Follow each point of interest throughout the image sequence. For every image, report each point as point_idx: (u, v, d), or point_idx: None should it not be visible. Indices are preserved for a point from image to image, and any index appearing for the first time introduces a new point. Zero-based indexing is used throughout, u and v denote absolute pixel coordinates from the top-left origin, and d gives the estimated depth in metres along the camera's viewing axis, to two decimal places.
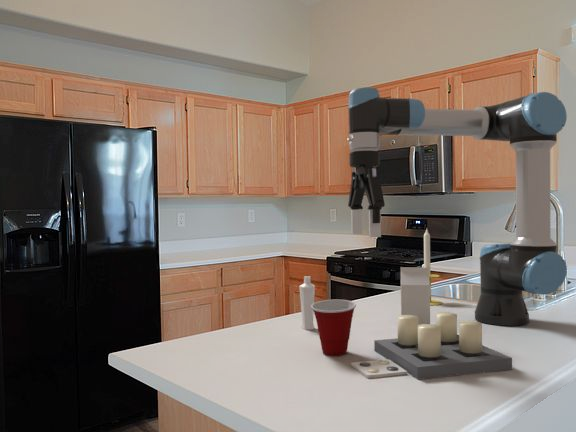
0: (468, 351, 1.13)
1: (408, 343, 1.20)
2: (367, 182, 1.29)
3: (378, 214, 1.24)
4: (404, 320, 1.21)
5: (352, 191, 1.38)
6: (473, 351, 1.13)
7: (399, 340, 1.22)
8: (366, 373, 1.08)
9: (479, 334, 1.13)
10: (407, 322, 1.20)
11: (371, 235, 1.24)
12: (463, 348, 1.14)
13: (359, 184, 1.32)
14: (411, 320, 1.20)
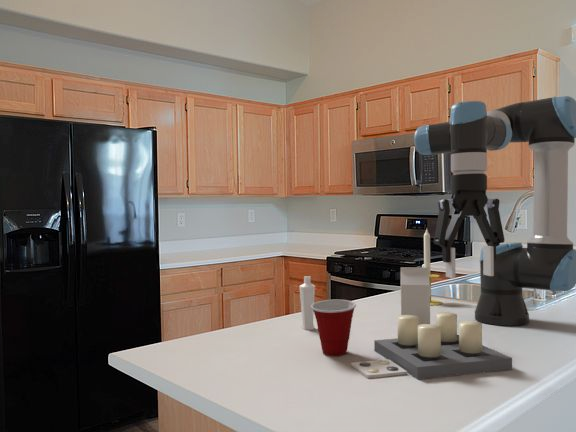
0: (468, 351, 1.13)
1: (408, 343, 1.20)
2: (458, 211, 1.15)
3: (444, 253, 1.13)
4: (404, 320, 1.21)
5: (490, 222, 1.17)
6: (473, 351, 1.13)
7: (399, 340, 1.22)
8: (366, 373, 1.08)
9: (479, 334, 1.13)
10: (407, 322, 1.20)
11: (446, 274, 1.15)
12: (463, 348, 1.14)
13: None
14: (411, 320, 1.20)
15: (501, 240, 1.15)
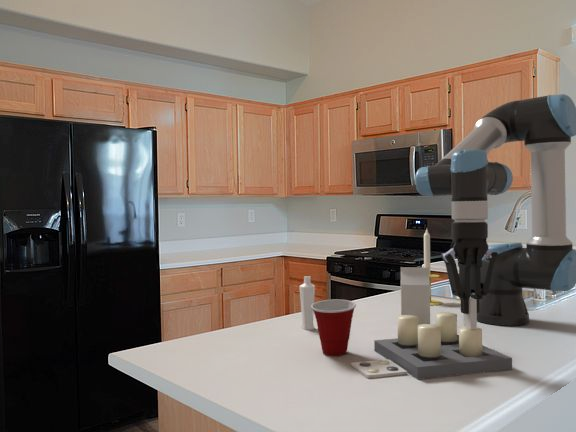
0: None
1: (408, 343, 1.20)
2: None
3: (463, 304, 1.14)
4: (404, 320, 1.21)
5: (481, 272, 1.17)
6: None
7: (399, 340, 1.22)
8: (366, 373, 1.08)
9: (479, 340, 1.13)
10: (407, 322, 1.20)
11: (464, 325, 1.16)
12: (463, 354, 1.14)
13: None
14: (411, 320, 1.20)
15: (484, 292, 1.15)
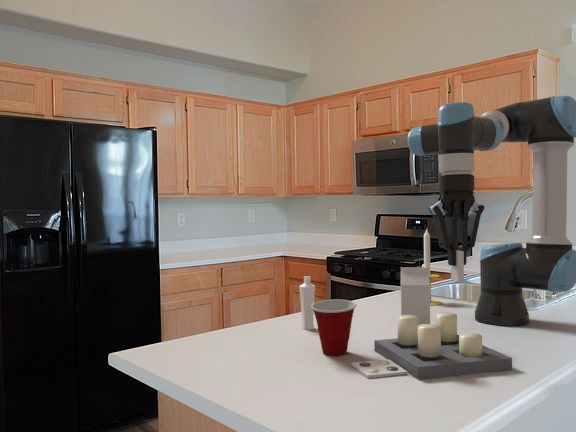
0: None
1: (408, 343, 1.20)
2: None
3: (450, 256, 1.15)
4: (404, 320, 1.21)
5: (468, 225, 1.18)
6: None
7: (399, 340, 1.22)
8: (366, 373, 1.08)
9: (479, 346, 1.13)
10: (407, 322, 1.20)
11: (451, 277, 1.17)
12: None
13: None
14: (411, 320, 1.20)
15: (471, 244, 1.16)
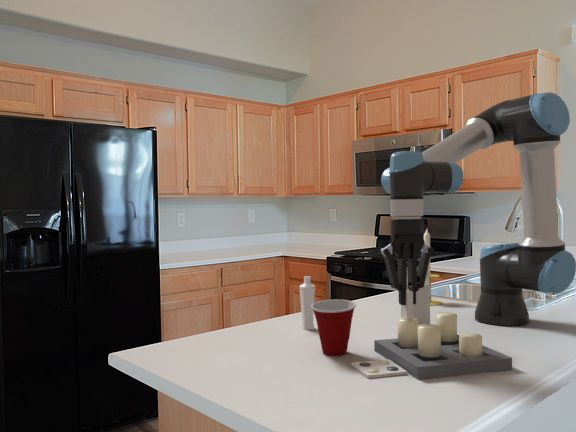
0: None
1: (408, 346, 1.20)
2: None
3: (400, 296, 1.22)
4: (404, 323, 1.21)
5: (418, 266, 1.24)
6: None
7: (399, 342, 1.22)
8: (366, 373, 1.08)
9: (479, 346, 1.13)
10: (407, 325, 1.20)
11: (402, 316, 1.23)
12: None
13: None
14: (411, 323, 1.20)
15: (420, 285, 1.22)
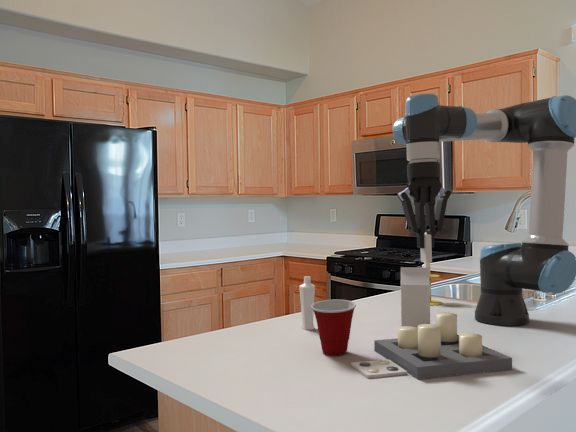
0: None
1: None
2: None
3: (419, 239, 1.22)
4: (404, 332, 1.21)
5: (436, 210, 1.25)
6: None
7: None
8: (366, 373, 1.08)
9: (479, 346, 1.13)
10: (407, 334, 1.20)
11: (421, 260, 1.24)
12: None
13: None
14: (411, 332, 1.20)
15: (438, 228, 1.22)
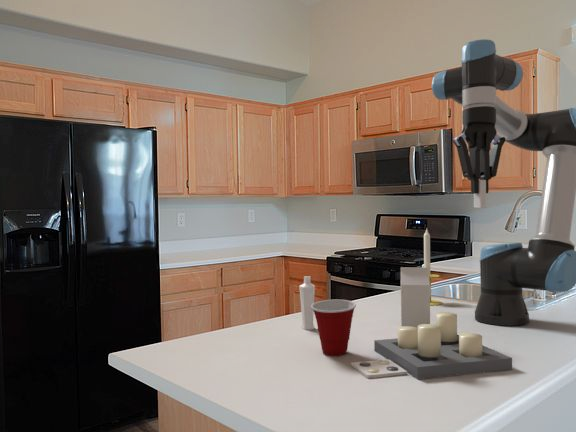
0: None
1: None
2: None
3: (473, 184, 1.24)
4: (404, 332, 1.21)
5: (490, 157, 1.26)
6: None
7: None
8: (366, 373, 1.08)
9: (479, 346, 1.13)
10: (407, 334, 1.20)
11: (474, 205, 1.25)
12: None
13: None
14: (411, 332, 1.20)
15: (493, 174, 1.24)
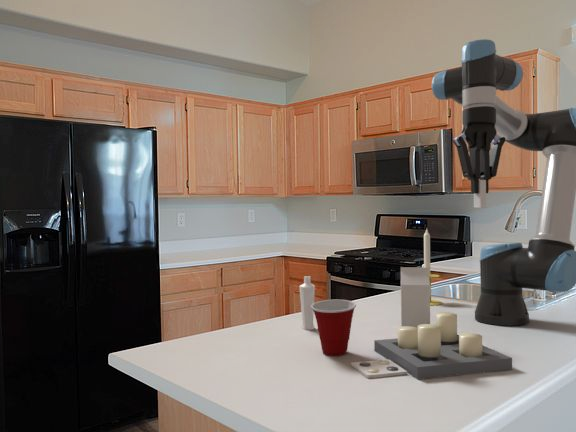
0: None
1: None
2: None
3: (473, 184, 1.24)
4: (404, 332, 1.21)
5: (490, 157, 1.26)
6: None
7: None
8: (366, 373, 1.08)
9: (479, 346, 1.13)
10: (407, 334, 1.20)
11: (474, 205, 1.25)
12: None
13: None
14: (411, 332, 1.20)
15: (493, 174, 1.24)
